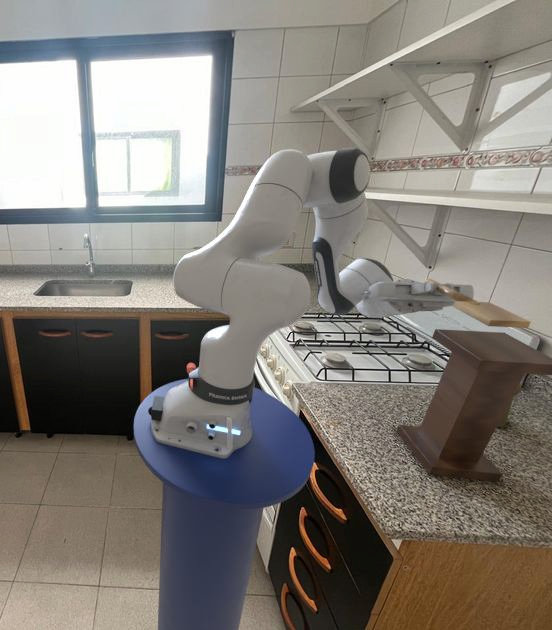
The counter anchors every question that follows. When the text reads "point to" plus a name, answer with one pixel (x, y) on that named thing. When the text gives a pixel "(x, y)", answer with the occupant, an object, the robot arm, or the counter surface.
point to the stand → (471, 401)
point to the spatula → (482, 309)
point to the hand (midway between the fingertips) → (442, 286)
